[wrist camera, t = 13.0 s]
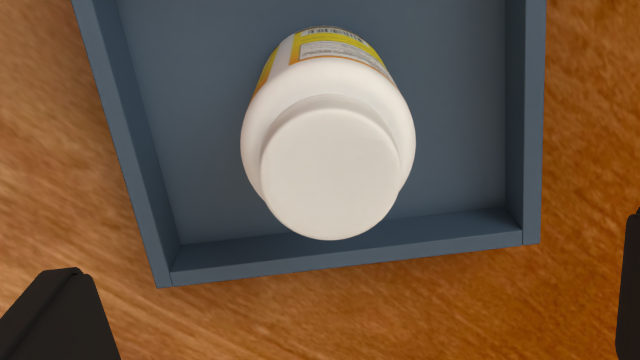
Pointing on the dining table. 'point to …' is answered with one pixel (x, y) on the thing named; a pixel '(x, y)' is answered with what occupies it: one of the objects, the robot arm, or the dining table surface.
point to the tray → (236, 93)
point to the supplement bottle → (327, 135)
